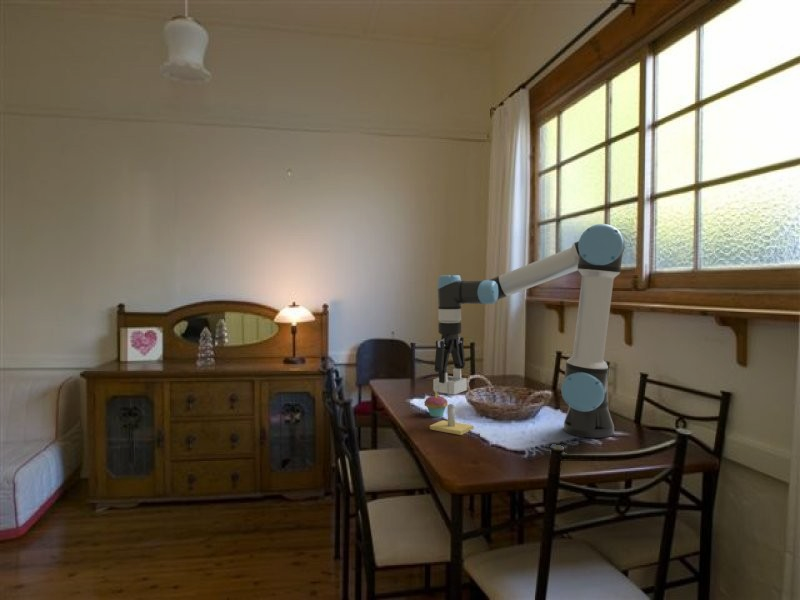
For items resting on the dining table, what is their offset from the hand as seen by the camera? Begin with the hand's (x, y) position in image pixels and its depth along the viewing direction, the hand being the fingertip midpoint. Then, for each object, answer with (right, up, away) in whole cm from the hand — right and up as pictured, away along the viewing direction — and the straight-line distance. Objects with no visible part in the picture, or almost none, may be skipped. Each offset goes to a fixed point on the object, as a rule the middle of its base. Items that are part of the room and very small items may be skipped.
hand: (450, 389), depth 167 cm
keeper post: (0, -13, 0) cm, 13 cm away
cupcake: (-3, -13, +18) cm, 23 cm away
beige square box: (0, 0, 0) cm, 0 cm away
